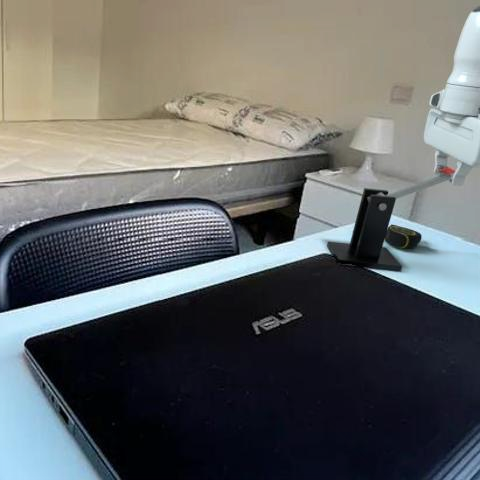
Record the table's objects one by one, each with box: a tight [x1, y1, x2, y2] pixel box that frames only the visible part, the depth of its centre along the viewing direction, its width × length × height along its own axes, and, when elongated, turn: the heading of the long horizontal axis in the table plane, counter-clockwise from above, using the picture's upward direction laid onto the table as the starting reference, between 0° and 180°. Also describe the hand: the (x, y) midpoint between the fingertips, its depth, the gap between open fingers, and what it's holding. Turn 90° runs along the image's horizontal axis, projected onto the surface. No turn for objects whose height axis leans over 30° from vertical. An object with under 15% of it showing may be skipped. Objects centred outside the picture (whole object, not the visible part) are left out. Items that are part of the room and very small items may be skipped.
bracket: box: [326, 187, 403, 273], centre depth 97 cm, size 12×9×14 cm
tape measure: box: [384, 224, 423, 250], centre depth 107 cm, size 7×7×4 cm
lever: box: [367, 166, 456, 203], centre depth 94 cm, size 16×5×2 cm, turn 85°
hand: (447, 179), depth 93 cm, fingers closed on lever, 5 cm apart
